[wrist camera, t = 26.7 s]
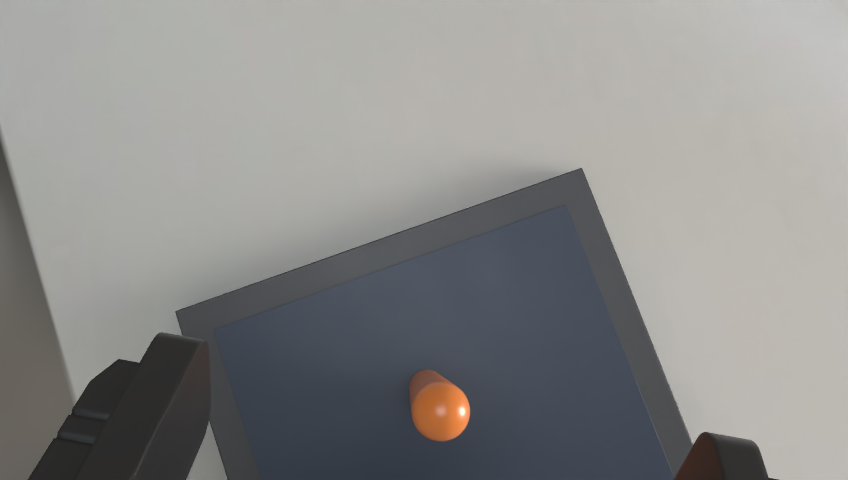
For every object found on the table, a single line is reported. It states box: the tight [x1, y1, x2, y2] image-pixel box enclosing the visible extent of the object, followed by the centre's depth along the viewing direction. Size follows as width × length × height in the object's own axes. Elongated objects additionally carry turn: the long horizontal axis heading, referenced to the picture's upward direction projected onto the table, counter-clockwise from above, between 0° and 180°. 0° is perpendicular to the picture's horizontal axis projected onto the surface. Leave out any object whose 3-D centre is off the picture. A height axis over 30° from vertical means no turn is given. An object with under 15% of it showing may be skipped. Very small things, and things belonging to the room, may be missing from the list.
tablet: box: [176, 168, 693, 480], centre depth 34 cm, size 20×18×1 cm
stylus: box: [409, 370, 470, 442], centre depth 26 cm, size 2×2×14 cm
